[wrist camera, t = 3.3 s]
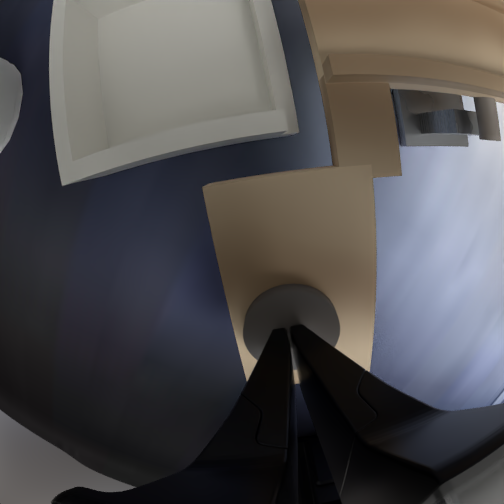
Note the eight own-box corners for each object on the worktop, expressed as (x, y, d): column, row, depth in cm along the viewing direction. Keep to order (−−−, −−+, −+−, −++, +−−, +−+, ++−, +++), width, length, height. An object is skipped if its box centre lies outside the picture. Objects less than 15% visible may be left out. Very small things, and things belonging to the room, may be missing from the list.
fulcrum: (462, 146, 11) (503, 150, 8) (401, 146, 11) (441, 147, 8) (426, -1, 8) (456, -20, 5) (360, -16, 8) (385, -44, 5)
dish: (291, 135, 11) (310, 128, 8) (103, 176, 11) (61, 185, 8) (255, -28, 8) (259, -69, 5) (88, 17, 8) (54, -8, 5)
